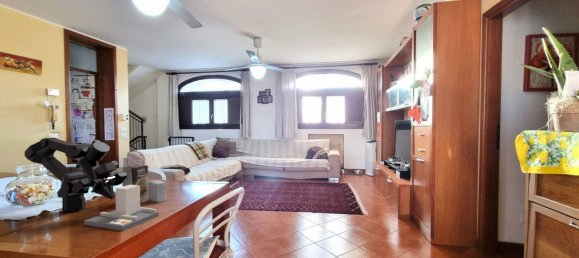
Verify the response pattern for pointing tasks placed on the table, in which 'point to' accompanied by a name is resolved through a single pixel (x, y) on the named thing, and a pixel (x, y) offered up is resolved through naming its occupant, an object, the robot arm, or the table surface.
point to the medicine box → (157, 191)
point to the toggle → (128, 199)
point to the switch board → (122, 219)
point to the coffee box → (137, 178)
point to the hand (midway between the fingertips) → (113, 198)
